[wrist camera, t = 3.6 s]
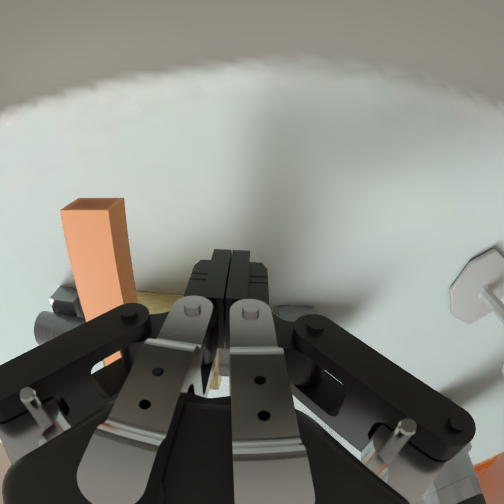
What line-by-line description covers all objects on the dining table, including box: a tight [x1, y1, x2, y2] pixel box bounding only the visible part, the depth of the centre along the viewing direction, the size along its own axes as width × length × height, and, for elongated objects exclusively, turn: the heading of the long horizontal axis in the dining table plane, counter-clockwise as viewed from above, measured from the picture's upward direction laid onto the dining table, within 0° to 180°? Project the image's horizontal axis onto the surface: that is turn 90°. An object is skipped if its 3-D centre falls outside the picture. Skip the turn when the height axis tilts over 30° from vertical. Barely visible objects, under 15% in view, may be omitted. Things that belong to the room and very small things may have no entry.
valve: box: [34, 287, 315, 390], centre depth 25 cm, size 26×6×8 cm, turn 87°
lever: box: [60, 198, 138, 365], centre depth 16 cm, size 17×3×4 cm, turn 177°
